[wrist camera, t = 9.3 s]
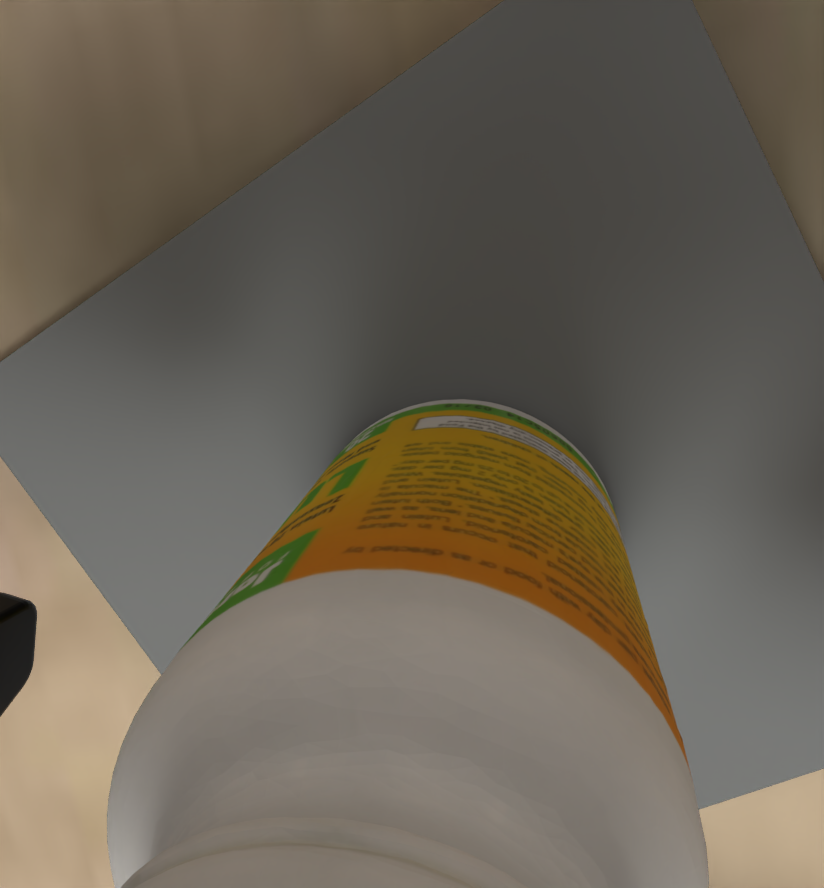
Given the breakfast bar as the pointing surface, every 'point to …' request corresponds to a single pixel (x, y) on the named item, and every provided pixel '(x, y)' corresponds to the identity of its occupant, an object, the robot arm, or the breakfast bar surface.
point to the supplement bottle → (419, 688)
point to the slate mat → (482, 352)
